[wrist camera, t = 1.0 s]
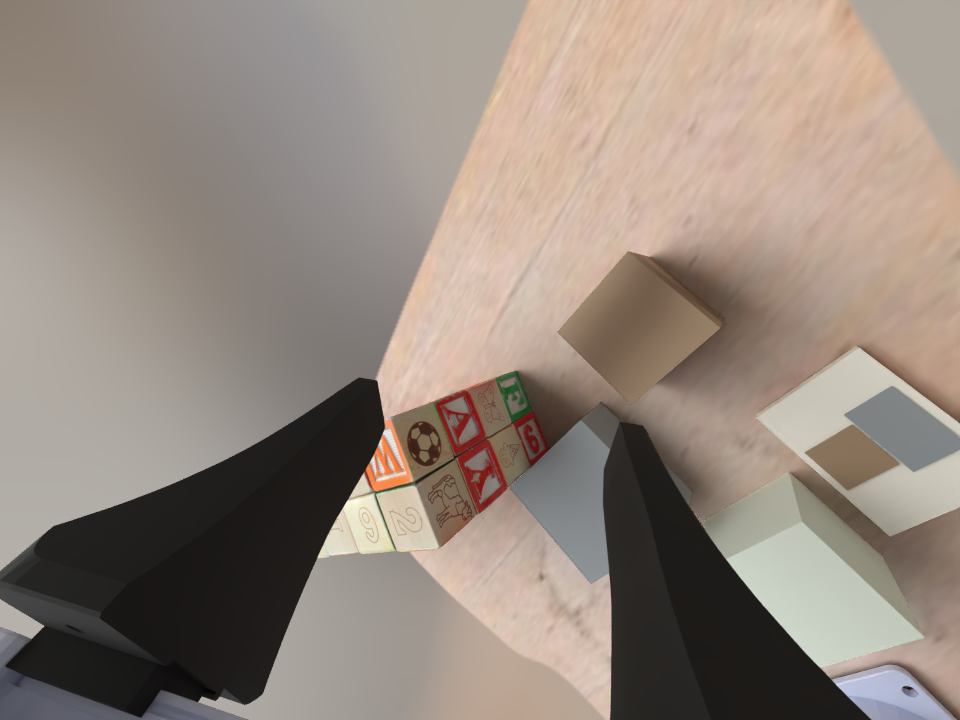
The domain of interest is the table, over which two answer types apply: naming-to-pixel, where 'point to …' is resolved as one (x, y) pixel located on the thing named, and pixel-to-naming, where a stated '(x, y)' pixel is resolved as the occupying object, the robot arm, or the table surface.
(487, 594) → the table surface
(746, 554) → the sage block
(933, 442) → the card
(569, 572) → the table surface
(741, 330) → the table surface
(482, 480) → the stack of blocks
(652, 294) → the walnut block
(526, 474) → the slate block
